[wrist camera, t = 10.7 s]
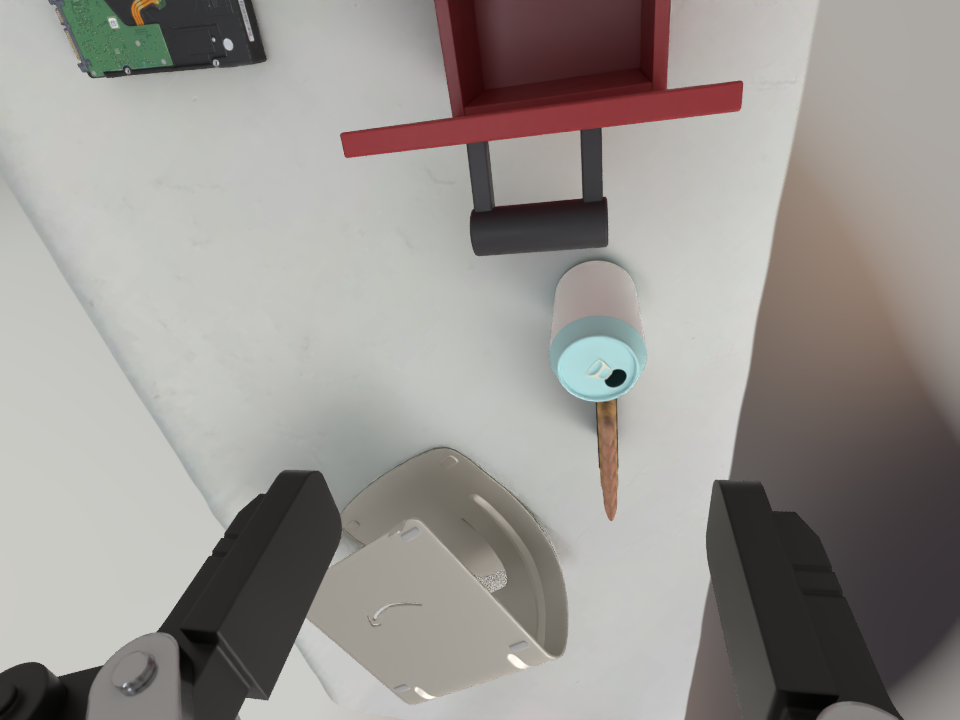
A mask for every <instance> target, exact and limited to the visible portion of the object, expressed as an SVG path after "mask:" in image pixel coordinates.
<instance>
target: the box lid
mask: <svg viewBox="0 0 960 720" xmlns="http://www.w3.org/2000/svg"><path fill="white" fill-rule="evenodd" d="M742 92H743V82H742V81H733V82H725V83H717V84H709V85H700V86H692V87H684V88H675V89H667V90H659V91H652V92H644V93H637V94H629V95H621V96H614V97H606V98H598V99H591V100H583V101H575V102H568V103H560V104H553V105H545V106H537V107H530V108H522V109H514V110H507V111H499V112H492V113H484V114H476V115H469V116H461V117H453V118H446V119H439V120H431V121H424V122H417V123H410V124H402V125H395V126H388V127H380V128H373V129H366V130H359V131H351V132H344V133H341V134H340V137H341V141H342V146H343V151H344V155H345V157H346V158H350V157H359V156H367V155H376V154H384V153H392V152H401V151H409V150H418V149H426V148H434V147H443V146H451V145H459V144H467V153H468V161H469V169H470V178H471V186H472V194H473V203H474V209H473V210H472V212H471V216H470V236H471V243H472V247H473V250H474V253H475V255H477V256H488V255H502V254H516V253H530V252H544V251H558V250H572V249H586V248H600V247H607V245H608V207H607V198H606V197H603V181H602V127H610V126H619V125H627V124H635V123H644V122H652V121H661V120H669V119H677V118H686V117H694V116H702V115H711V114H719V113H728V112H736V111H739V110H740V109H741V104H742ZM577 130H580V133H581V162H582V191H583V199H573V200H562V201H551V202H540V203H529V204H519V205H508V206H497V207H495V202H494V192H493V183H492V173H491V164H490V154H489V144H488V141H493V140H501V139H510V138H518V137H526V136H535V135H543V134H552V133H560V132H568V131H577Z"/></svg>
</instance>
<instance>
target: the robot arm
mask: <svg viewBox="0 0 960 720" xmlns="http://www.w3.org/2000/svg"><path fill="white" fill-rule="evenodd" d="M341 532H342V521H341V517H340V514H339V512H338V509H337V507H336V504H335V502H334V500H333V497H332V495H331V493H330V490H329V488H328V486H327V483H326V481H325V479H324V477H323V475H322V473H321V472H319V471H311V470H285V471H282V472H281V473H280V474H279V475H278V476H277V478H276V479H275V481H274V482H273V484H272V485H271V487H270V488H269V490H268V491H267V493H266V494H259V495H258V496H257V497H256V498H255V499H253V500H252V501H251V502H250V503H249V504H248V505H247V506H245V507H244V508H243V509H242V510H241V511H240V512H239V513H238V514H237V516H236V517H235V519H234V520H233V522H232V523H231V525H230V526H229V528H228V529H227V530H226V532H225V536H224V538H221V539H220V541H219V542H218V544H217V545H216V547H215V548H214V550H213V551H212V552H213V554H212V556H209V557H208V558H207V560H206V561H205V563H204V564H203V566H202V567H201V569H200V570H199V572H198V573H197V575H196V576H195V578H194V579H193V581H192V582H191V584H190V585H189V586H188V588H187V590H186V591H185V593H184V594H183V595H182V597H181V598H180V600H179V601H178V603H177V604H176V606H175V607H174V609H173V610H172V612H171V613H170V615H169V616H168V618H167V619H166V620H165V622H164V623H163V624H162V626H161V627H160V628H159V630H158V631H157V632H156V633H150V634H146V635H143V636H141V637H139V638H136V639H135V640H133V641H131V642H129V643H128V644H126V645H125V646H123V647H122V648H121V649H120V650H118V651H117V652H116V653H115V654H114V655H113V656H112V657H111V658H110V659H109V660H108V661H107V662H106V663H105V664H104V665H102V666H99V667H95V668H91V669H87V670H83V671H79V672H75V673H71V674H67V675H63V676H59V677H56V676H55V675H54V674H53V673H52V672H51V671H50V670H48V669H47V668H46V667H45V666H44V665H42V664H40V663H36V662H28V663H23V664H19V665H17V666H14V667H12V668H10V669H8V670H5V671H4V672H2V673H0V720H240V717H239V715H238V712H239V710H240V708H241V706H242V704H243V702H244V700H245V698H253V699H261V700H268V699H269V697H270V695H271V692H272V690H273V688H274V686H275V683H276V681H277V679H278V677H279V675H280V673H281V670H282V668H283V666H284V664H285V661H286V659H287V657H288V655H289V653H290V651H291V648H292V646H293V644H294V642H295V640H296V637H297V635H298V633H299V631H300V629H301V626H302V624H303V622H304V620H305V618H306V615H307V613H308V611H309V609H310V607H311V605H312V602H313V600H314V598H315V596H316V594H317V591H318V589H319V587H320V585H321V583H322V580H323V578H324V576H325V574H326V572H327V569H328V567H329V565H330V563H331V561H332V558H333V556H334V554H335V552H336V550H337V547H338V545H339V542H340V538H341ZM706 550H707V559H708V565H709V570H710V575H711V579H712V584H713V588H714V593H715V597H716V602H717V607H718V611H719V616H720V621H721V625H722V630H723V634H724V639H725V643H726V648H727V653H728V657H729V662H730V666H731V671H732V676H733V680H734V685H735V690H736V694H737V699H738V703H739V707H740V712H741V717H742V720H904V719H903V718H902V717H901V716H900V714H899V713H898V711H897V710H896V708H895V707H894V705H893V704H892V702H891V700H890V698H889V696H888V694H887V692H886V690H885V687H884V686H883V683H882V680H881V678H880V676H879V674H878V671H877V669H876V667H875V664H874V662H873V660H872V658H871V655H870V653H869V651H868V648H867V646H866V644H865V642H864V639H863V637H862V635H861V632H860V630H859V628H858V625H857V623H856V621H855V619H854V616H853V614H852V612H851V609H850V607H849V605H848V602H847V600H846V598H845V597H843V595H842V589H841V587H840V584H839V582H838V580H837V577H836V575H835V573H834V572H832V566H831V564H830V561H829V559H828V557H827V554H826V552H825V550H824V547H823V545H822V543H821V540H820V538H819V537H818V536H817V535H816V534H815V533H814V531H813V530H812V529H811V528H810V527H809V526H808V525H807V524H806V523H805V522H804V521H803V520H802V519H801V518H800V517H799V516H798V515H797V513H795V512H778V511H772V509H771V507H770V504H769V501H768V498H767V495H766V493H765V490H764V488H763V486H762V484H761V483H760V482H759V481H744V480H742V481H741V480H715V481H714V483H713V488H712V495H711V502H710V509H709V517H708V524H707V531H706Z"/></svg>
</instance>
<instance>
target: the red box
mask: <svg viewBox="0 0 960 720" xmlns="http://www.w3.org/2000/svg"><path fill="white" fill-rule="evenodd" d="M434 2H435V9H436V15H437V21H438V28H439V34H440V40H441V47H442V53H443V59H444V66H445V72H446V78H447V85H448V91H449V97H450V104H451V110H452V116H453V117H461V116H469V115H476V114H484V113H492V112H499V111H507V110H514V109H522V108H530V107H537V106H545V105H553V104H560V103H568V102H575V101H583V100H591V99H598V98H606V97H614V96H621V95H629V94H637V93H644V92H652V91H659V90H667V69H668V47H669V25H670V3H671V0H434Z"/></svg>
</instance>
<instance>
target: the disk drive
mask: <svg viewBox="0 0 960 720" xmlns="http://www.w3.org/2000/svg"><path fill="white" fill-rule="evenodd" d="M48 1H49V3H50V4H51V5H53V4H54V5H56V6H57V8H58V9H57V8H56V12H57V14H58V17H59V19H60V21H61V25H65V26H66V28H65V29H64V31H65V32H66V34H67V37H68V39H69V41H70V43H71V45H72V48H73V50H74V52H75V54H76V56H77V59H79V60H80V59H81V63H80V64H78V67H79V68H80V69H81V71H82V72H87V73H88V75H89V76H90V77H91V78H102V77H106V78H111V77H112V78H114V77H121V76H127V75H138V74H150V73H160V72H173V71H184V70H195V69H207V68H215V67H219V68H225V67H236V66H240V65H249V64H256V63H261V62H265V61H266V60H267V59H266V55H265V52H264V47H263V44H262V40H261V35H260V32H259V27H258V24H257V20H256V16H255V13H254V9H253V6H252V2H251V0H48Z"/></svg>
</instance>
